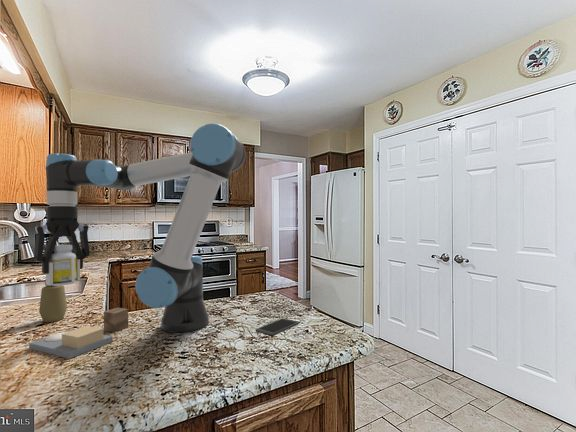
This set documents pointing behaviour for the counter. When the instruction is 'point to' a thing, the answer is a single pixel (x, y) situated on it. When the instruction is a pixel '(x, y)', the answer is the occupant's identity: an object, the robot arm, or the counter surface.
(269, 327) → the cell phone
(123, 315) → the walnut block
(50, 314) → the squeeze bottle
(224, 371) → the counter surface
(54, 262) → the pill bottle
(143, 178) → the robot arm
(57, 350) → the board
